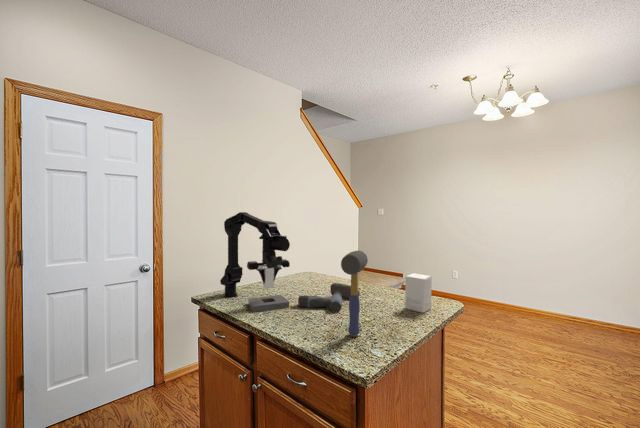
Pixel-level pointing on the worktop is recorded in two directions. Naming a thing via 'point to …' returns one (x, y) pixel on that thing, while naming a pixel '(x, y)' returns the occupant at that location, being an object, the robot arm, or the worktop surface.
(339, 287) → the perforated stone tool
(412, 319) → the worktop surface
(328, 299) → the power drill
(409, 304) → the supplement box
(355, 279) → the rubber mallet
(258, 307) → the grey slab with hole
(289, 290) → the worktop surface
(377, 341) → the worktop surface
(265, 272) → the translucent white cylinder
